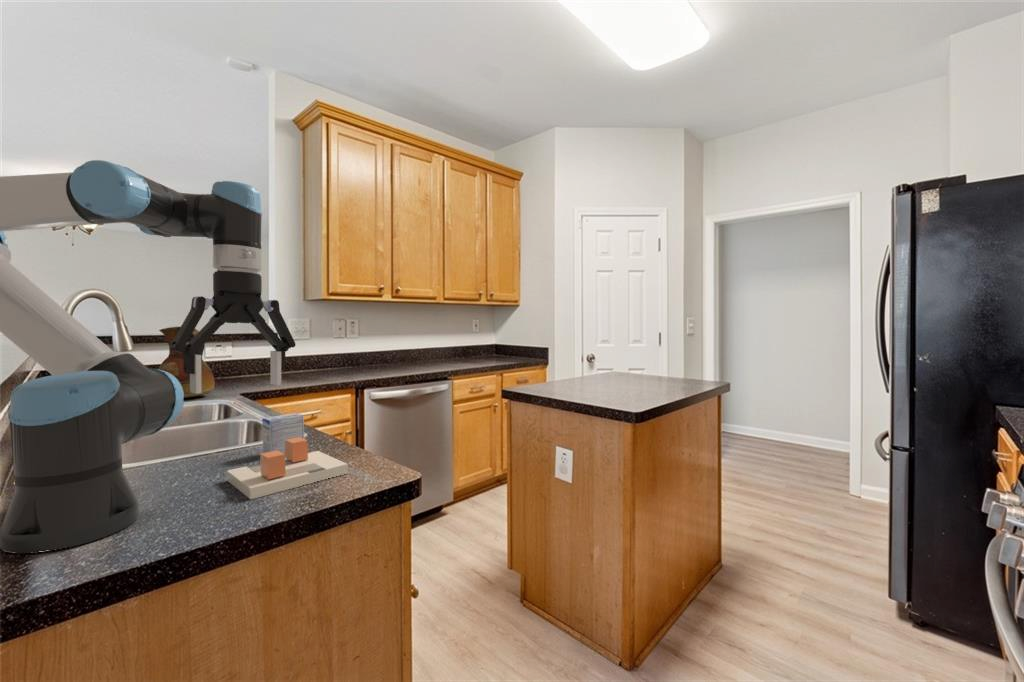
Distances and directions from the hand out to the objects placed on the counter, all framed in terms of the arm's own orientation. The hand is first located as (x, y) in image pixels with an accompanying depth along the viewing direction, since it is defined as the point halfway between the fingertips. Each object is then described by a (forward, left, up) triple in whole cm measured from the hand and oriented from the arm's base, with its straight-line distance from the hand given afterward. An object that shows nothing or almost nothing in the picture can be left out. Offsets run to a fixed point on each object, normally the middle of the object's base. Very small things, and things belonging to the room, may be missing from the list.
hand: (238, 388), depth 83 cm
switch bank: (+9, +1, -19) cm, 21 cm away
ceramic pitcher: (+17, +132, -19) cm, 135 cm away
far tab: (+12, +5, -17) cm, 21 cm away
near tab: (+5, -2, -17) cm, 18 cm away
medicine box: (+15, +20, -19) cm, 31 cm away
